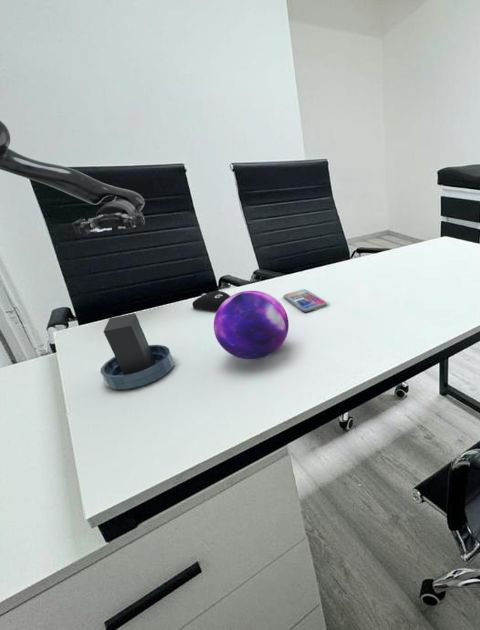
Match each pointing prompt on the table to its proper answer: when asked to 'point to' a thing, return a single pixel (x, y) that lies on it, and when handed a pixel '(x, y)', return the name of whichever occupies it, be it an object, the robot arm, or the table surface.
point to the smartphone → (305, 300)
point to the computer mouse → (210, 301)
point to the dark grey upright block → (129, 343)
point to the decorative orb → (251, 325)
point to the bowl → (120, 381)
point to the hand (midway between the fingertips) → (105, 228)
